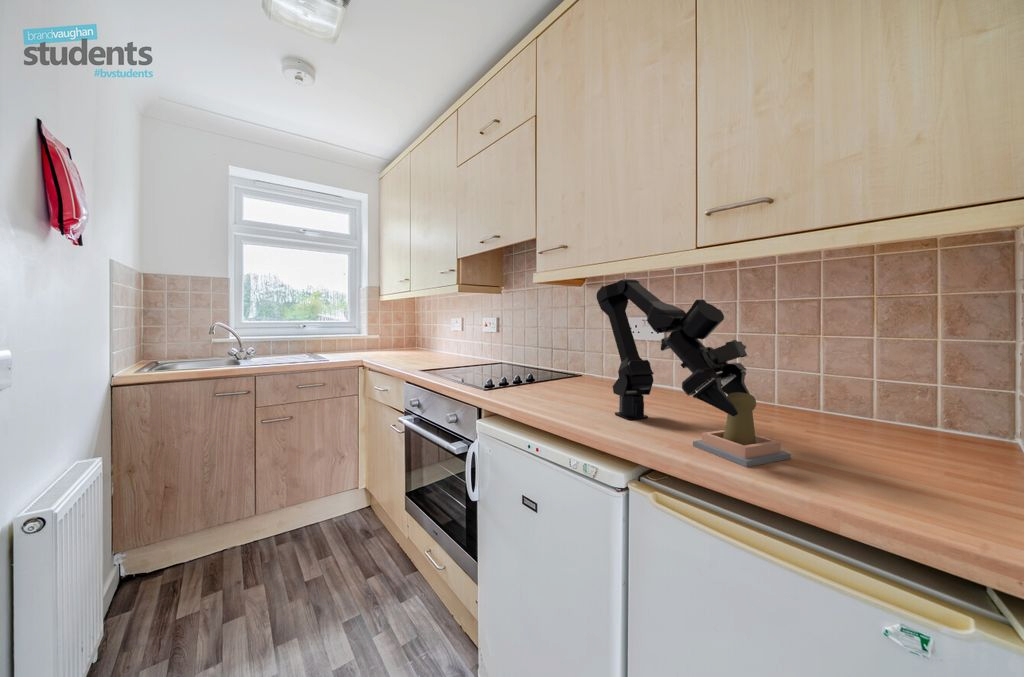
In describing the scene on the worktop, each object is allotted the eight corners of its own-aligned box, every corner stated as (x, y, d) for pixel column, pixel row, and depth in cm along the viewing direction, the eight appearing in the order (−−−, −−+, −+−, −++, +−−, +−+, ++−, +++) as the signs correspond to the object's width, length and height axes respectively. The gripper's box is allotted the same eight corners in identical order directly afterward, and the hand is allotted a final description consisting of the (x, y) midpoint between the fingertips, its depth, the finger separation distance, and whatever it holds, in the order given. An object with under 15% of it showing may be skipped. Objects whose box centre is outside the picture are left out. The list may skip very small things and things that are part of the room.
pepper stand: (692, 445, 78) (693, 431, 78) (733, 439, 82) (734, 426, 82) (746, 467, 67) (746, 450, 67) (790, 458, 71) (791, 443, 71)
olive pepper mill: (716, 441, 78) (717, 390, 77) (745, 441, 77) (747, 390, 77) (732, 451, 72) (734, 396, 71) (764, 452, 71) (766, 396, 71)
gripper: (699, 328, 71) (762, 393, 63) (737, 326, 82) (795, 382, 74) (659, 364, 77) (713, 428, 69) (700, 358, 89) (750, 412, 81)
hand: (745, 411), depth 73 cm, fingers open, 9 cm apart
